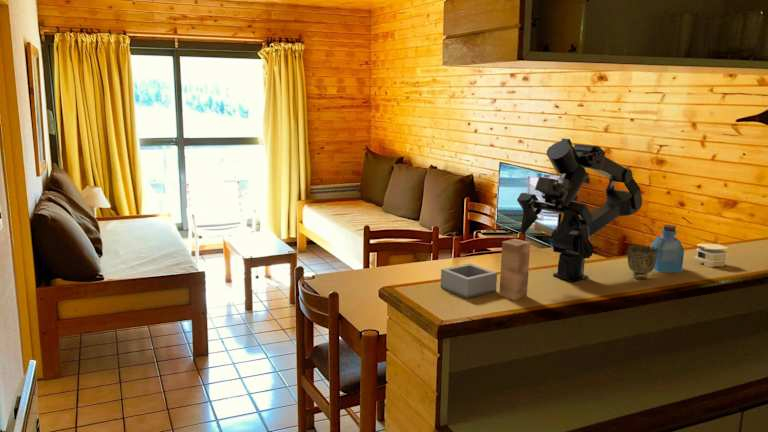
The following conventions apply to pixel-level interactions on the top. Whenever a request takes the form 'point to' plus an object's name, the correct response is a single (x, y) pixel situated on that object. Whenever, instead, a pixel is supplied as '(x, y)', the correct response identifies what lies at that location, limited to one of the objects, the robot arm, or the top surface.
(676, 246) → the perfume bottle
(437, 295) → the top surface
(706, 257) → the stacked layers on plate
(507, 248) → the walnut block
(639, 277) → the cup
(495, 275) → the slate well
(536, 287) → the top surface
